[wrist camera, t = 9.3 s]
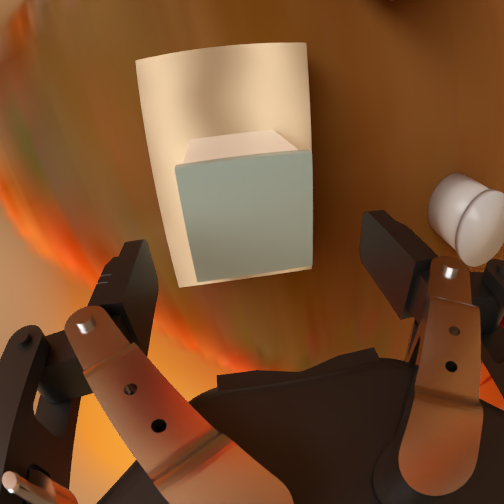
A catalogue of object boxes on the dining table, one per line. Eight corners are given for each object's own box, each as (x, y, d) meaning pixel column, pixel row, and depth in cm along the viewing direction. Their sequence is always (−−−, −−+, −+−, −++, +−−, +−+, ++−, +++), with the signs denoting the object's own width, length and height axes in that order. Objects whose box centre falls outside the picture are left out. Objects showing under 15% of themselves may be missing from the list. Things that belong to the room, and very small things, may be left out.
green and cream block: (276, 126, 18) (312, 151, 12) (280, 206, 21) (312, 265, 15) (186, 137, 18) (174, 168, 12) (199, 218, 20) (197, 282, 14)
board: (289, 48, 19) (306, 42, 15) (298, 243, 27) (311, 268, 24) (147, 64, 18) (135, 60, 15) (181, 259, 26) (179, 287, 23)
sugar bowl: (481, 170, 26) (518, 191, 21) (468, 233, 30) (500, 260, 25) (430, 170, 25) (470, 193, 20) (419, 241, 29) (451, 272, 24)
